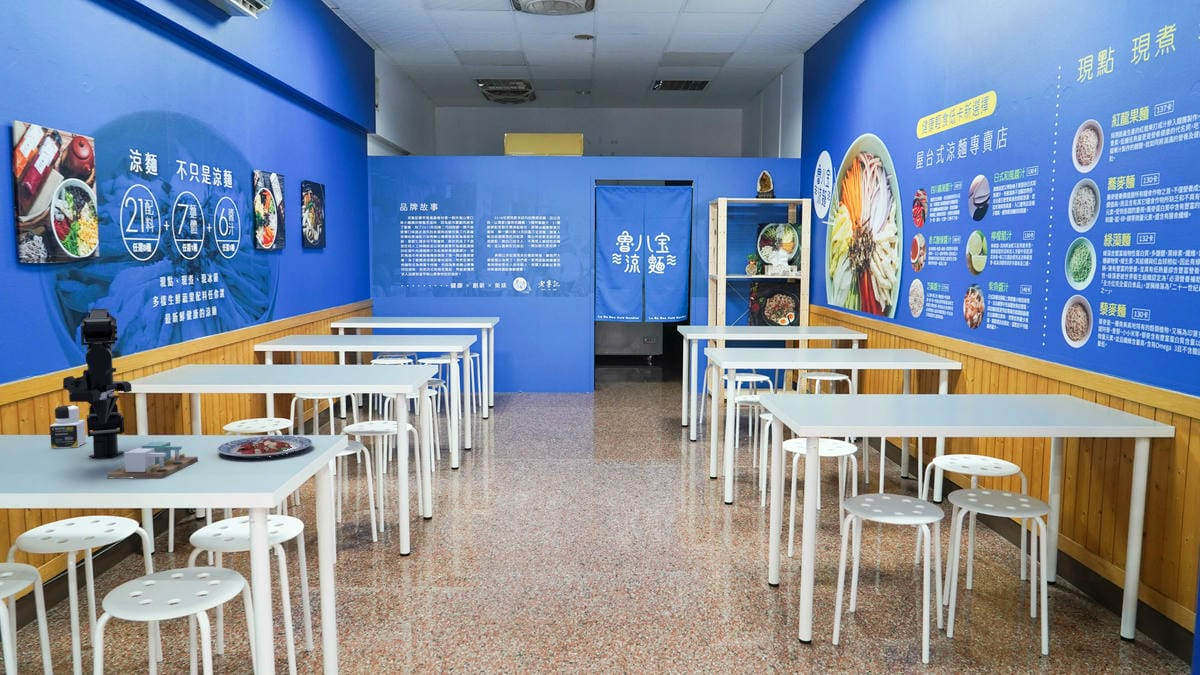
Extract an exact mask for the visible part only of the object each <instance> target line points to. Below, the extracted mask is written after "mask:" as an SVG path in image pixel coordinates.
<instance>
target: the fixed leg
mask: <svg viewBox="0 0 1200 675" xmlns="http://www.w3.org/2000/svg"><path fill="white" fill-rule="evenodd" d="M165 456H166V453H155V448H142V447H141V448H135V447H134V448H133V449H130V450H128V451H125V452H124V466H125V472H146V469H148V468H150V467H153V466H155V457H159V466H160V468H164V458H163V457H165Z"/></svg>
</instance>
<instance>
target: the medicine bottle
mask: <svg viewBox="0 0 1200 675" xmlns="http://www.w3.org/2000/svg"><path fill="white" fill-rule="evenodd" d="M54 417H55V419H54V420H55V422H54V423H52V424H50V426H49V430H50V431H49V433H50V448H51V449H55V448H56V449H71V448H70V447H77V448H80V445H81V446H83V445H84V444H86V443H87V438H86V423H85V422H86V421H85V419H80V409H79V407H78V406H77V405H72V404H71V405H61V406H57V407H56V408H54Z"/></svg>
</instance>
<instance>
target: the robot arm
mask: <svg viewBox="0 0 1200 675" xmlns="http://www.w3.org/2000/svg"><path fill="white" fill-rule="evenodd" d="M118 337H119V336H118V325H117V318H115V317H114V316H112V315H111V314H110V309H107V308H91V309H88V315H87V316H86V317H85V318H84V319H83V320H82V322H80V340H81V341H80V343H81V344H80V345H81V346H87V348H86V355H85V362H86V365H87V369H83V372H82V376H79V377H74V376H73V375H69V376H67V377H64V378H62V380H63V381H62V389H64V390H66V391H68V393H69V394H68V401H69V402H70V403H87V404H89V405H90V406H89V408H88V410H89V414H88V415H86V427H87V428H86V429H87V437H88V438H90V437H92V439H93V440H92V441H93V445H92V446H93V447H92V448H93V453H92V454H91V455H88V458H89V457H111V458H114V457H116V455H117V456H119V455H121V454H123V453H124V450H123V451H122V450H119V447H118V446H119V444H118V443H119V442H118V435H122V434H124V433H126V432H125V417H124V416H123V415H122V413H121V412H119V408H118V407H119V406H118V404H117V401H118V399H119V398H120V397H121V396H120V395H115V392H123V393H125V394H127V393H129V392H132V390H133V388H132V384H131V383H130V382H129V381H126V380H125V381H123V380H122V381H118V380H116V381H114V373H116V372H117V367H113V350H112V349H113V348H114V347H115V346H116V341H118V340H119V339H118Z"/></svg>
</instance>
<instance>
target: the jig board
mask: <svg viewBox="0 0 1200 675" xmlns="http://www.w3.org/2000/svg"><path fill="white" fill-rule="evenodd" d="M198 459H199V457H198V456H186V454H185V453H183V452H181V453H179V461H175V456H171V458H170V459H168V460H166V461H164V468H160V466H159V464H157V465H155V466H153V467H150V468H148V469H146V472H125V465H124V466H122V467H119V468H117V469H114V470H112V471H109V472H107V473H106V478H107V477H133V478H132V479H163V478H166V477H167V476H169V475H172V474H174V473H175V472H178V471H180V470H181V469H184V468H186V467H188V466H190V465H192V464H194V463H196V462H198V461H199V460H198Z"/></svg>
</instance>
